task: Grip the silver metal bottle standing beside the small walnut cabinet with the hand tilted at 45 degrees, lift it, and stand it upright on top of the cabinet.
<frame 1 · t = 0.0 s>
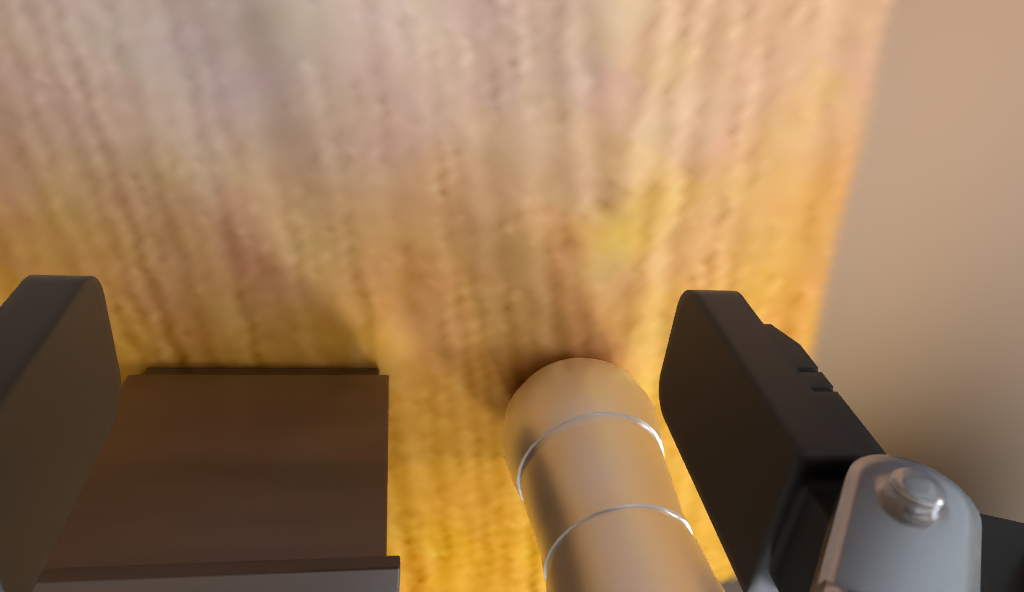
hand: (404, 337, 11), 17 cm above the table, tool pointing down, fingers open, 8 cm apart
cabinet: (274, 468, 34), on the table
silver metal bottle: (567, 394, 34), on the table
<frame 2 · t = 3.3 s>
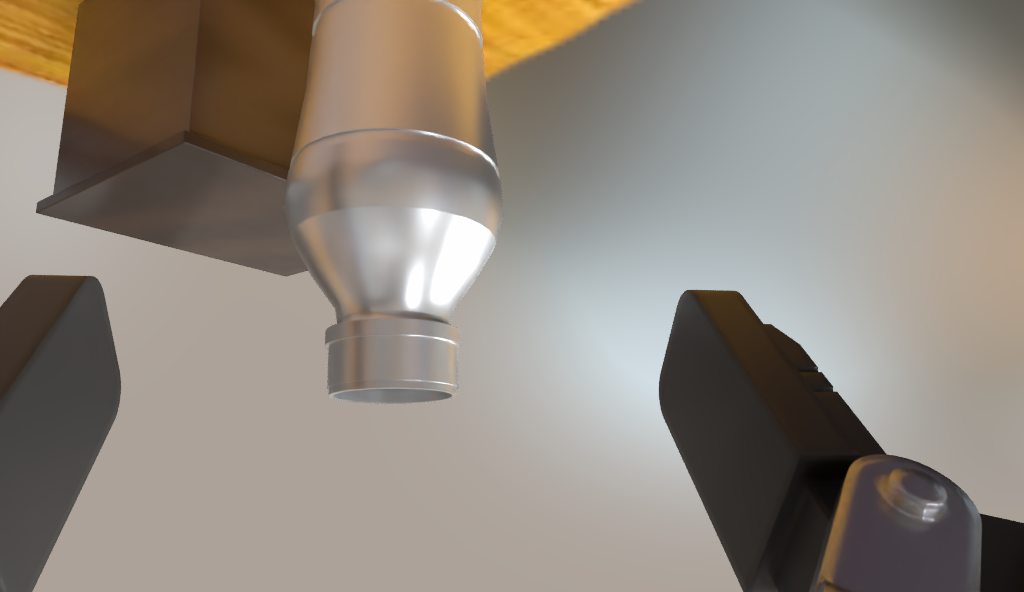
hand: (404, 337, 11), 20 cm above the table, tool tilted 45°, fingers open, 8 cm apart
cabinet: (261, 8, 36), on the table
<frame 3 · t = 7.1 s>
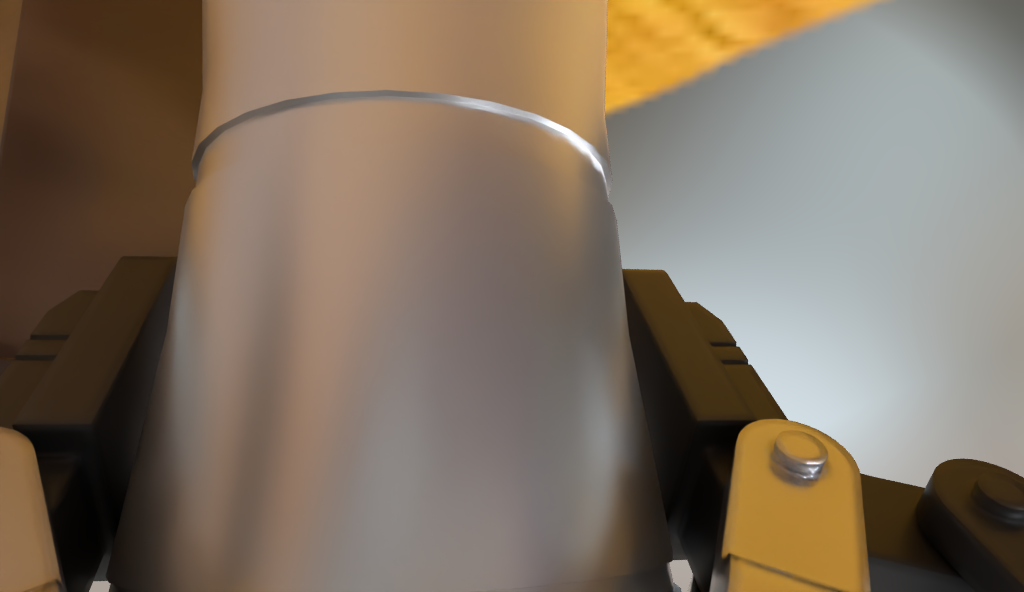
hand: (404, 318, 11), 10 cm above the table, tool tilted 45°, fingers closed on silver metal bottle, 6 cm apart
cabinet: (185, 50, 23), on the table
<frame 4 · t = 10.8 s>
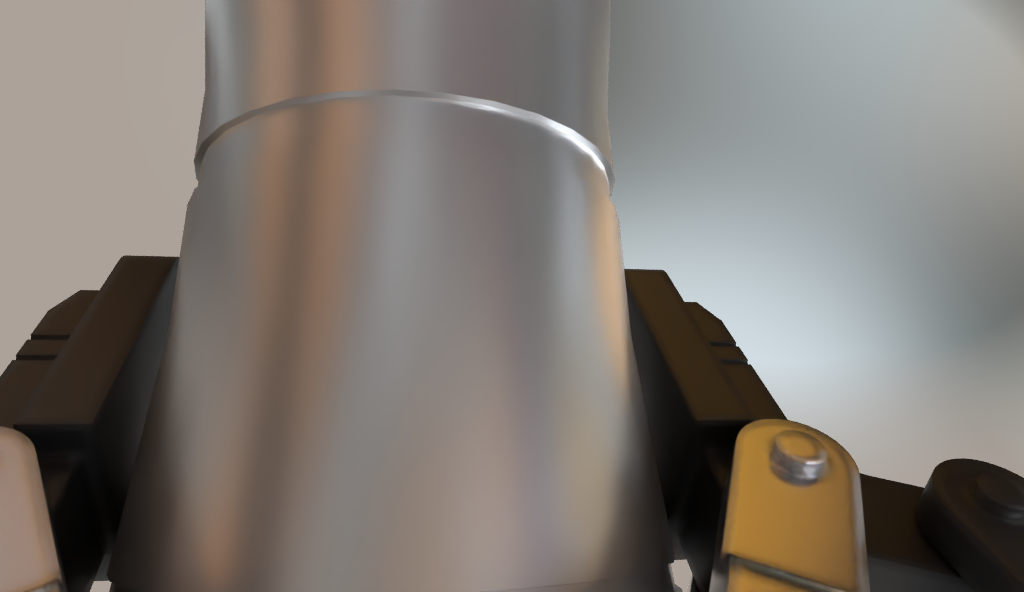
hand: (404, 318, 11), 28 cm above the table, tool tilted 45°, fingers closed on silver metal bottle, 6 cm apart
when the fingers open (21 cm above the table, at t = 14.8 s): silver metal bottle stays where it is, resting on cabinet.
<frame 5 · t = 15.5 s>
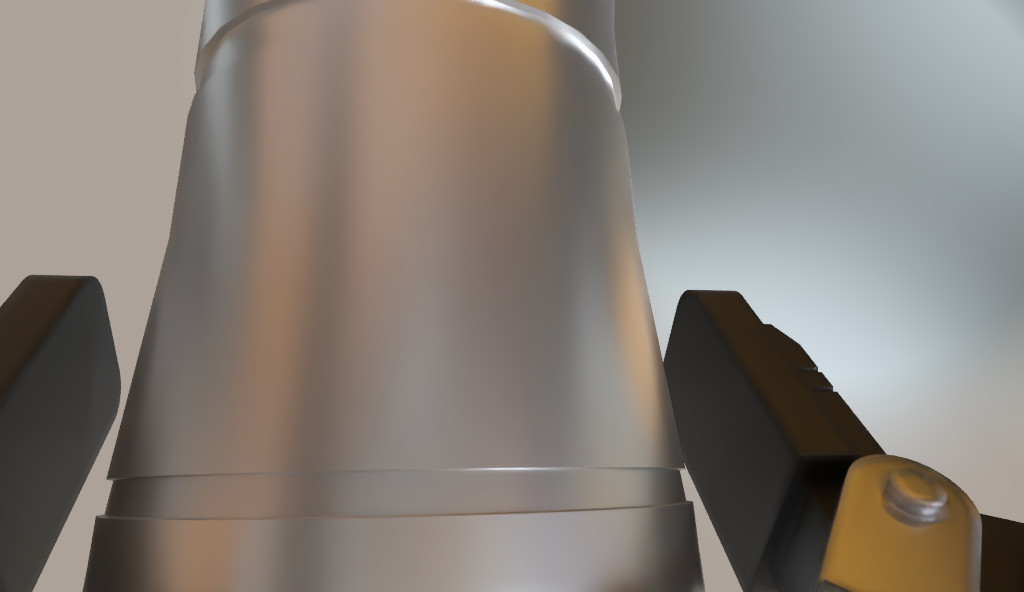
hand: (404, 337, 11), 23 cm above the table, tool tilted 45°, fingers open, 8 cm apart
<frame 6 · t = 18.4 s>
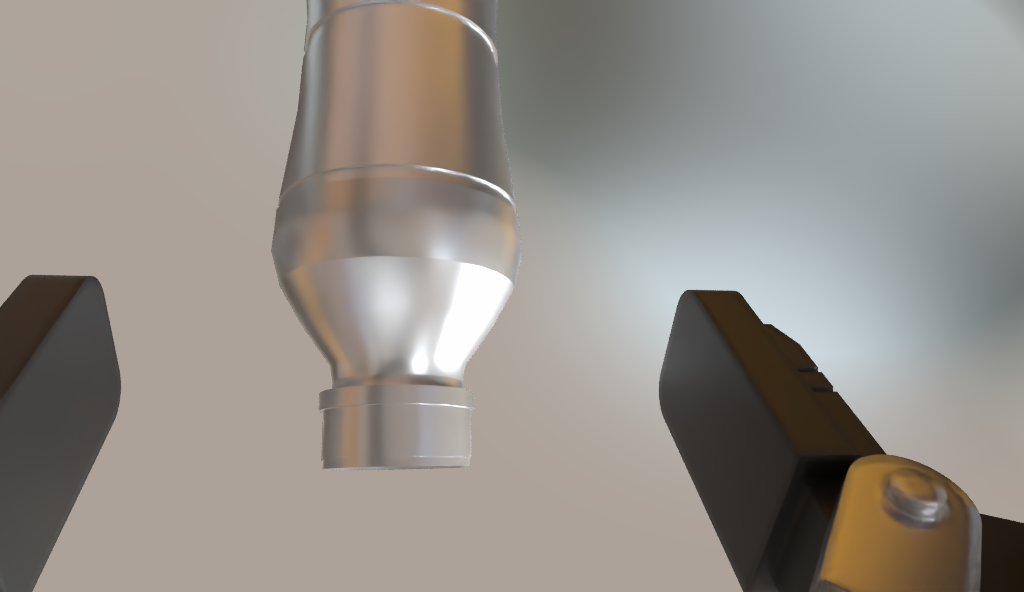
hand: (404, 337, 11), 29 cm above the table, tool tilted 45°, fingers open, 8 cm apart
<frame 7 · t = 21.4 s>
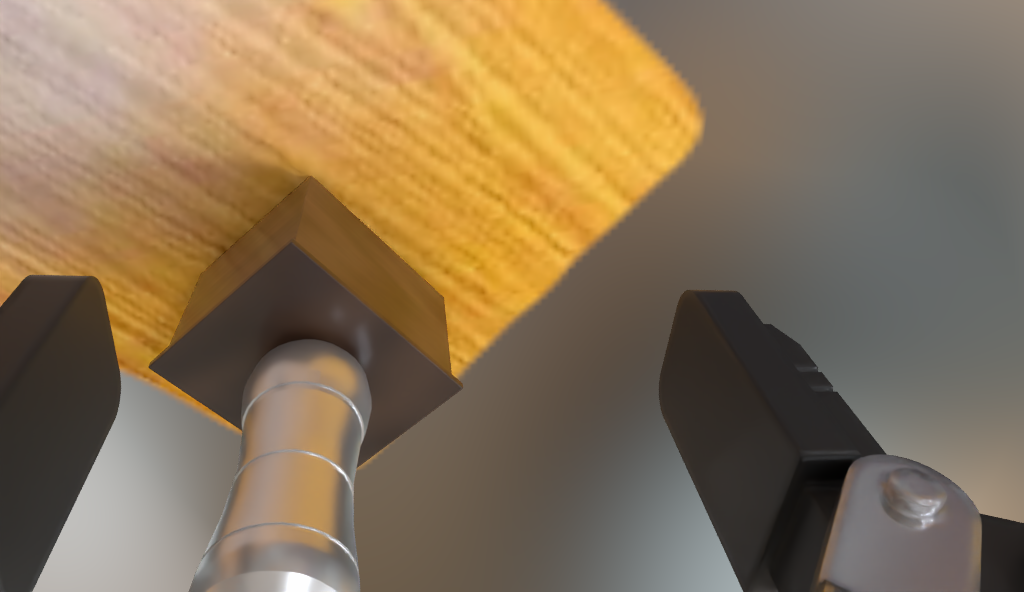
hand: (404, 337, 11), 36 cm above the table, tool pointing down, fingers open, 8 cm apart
cabinet: (327, 278, 51), on the table
silver metal bottle: (313, 371, 41), point 11 cm above the table, touching cabinet
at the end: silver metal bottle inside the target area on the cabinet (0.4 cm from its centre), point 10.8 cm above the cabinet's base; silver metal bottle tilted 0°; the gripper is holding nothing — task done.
